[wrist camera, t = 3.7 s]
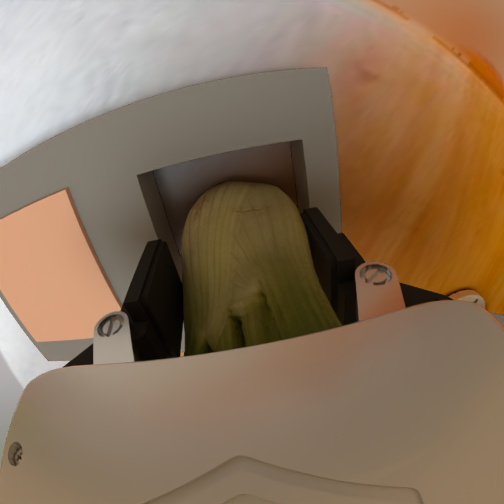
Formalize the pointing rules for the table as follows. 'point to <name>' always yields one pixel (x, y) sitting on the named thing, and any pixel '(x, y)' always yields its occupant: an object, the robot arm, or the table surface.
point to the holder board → (141, 192)
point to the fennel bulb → (248, 271)
